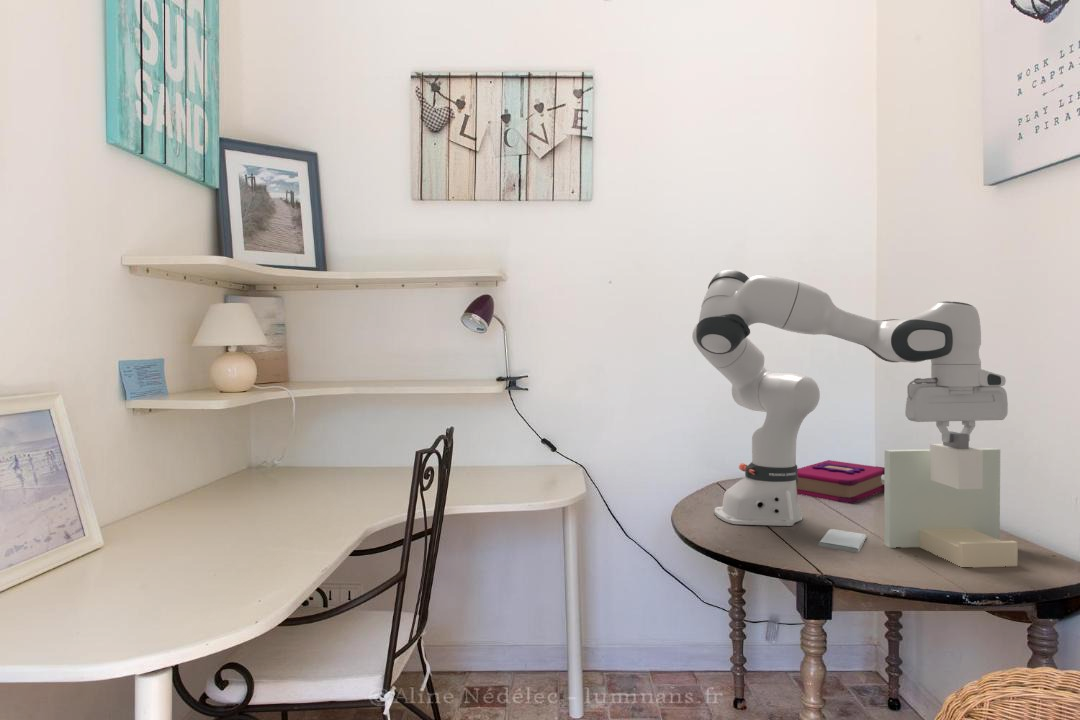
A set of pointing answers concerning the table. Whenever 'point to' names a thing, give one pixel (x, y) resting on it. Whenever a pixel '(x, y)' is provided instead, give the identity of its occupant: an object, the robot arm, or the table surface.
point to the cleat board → (945, 512)
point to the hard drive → (843, 540)
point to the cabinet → (957, 463)
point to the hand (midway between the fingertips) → (955, 441)
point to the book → (840, 481)
